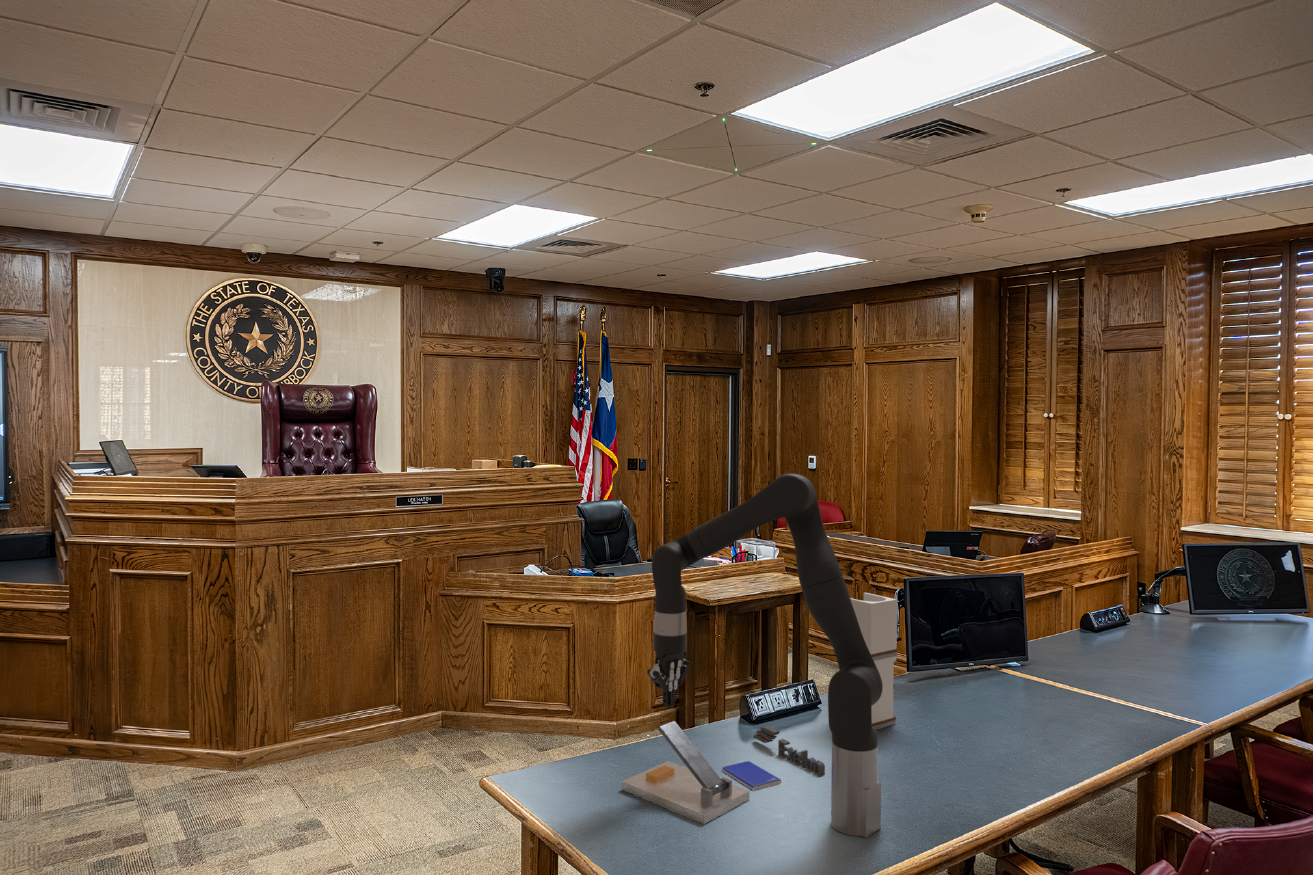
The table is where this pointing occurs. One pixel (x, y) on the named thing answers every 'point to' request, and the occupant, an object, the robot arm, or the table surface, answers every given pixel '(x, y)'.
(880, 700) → the tall open-top box
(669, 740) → the flat pivoting pedal
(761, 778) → the hard drive
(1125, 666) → the table surface
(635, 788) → the mounting plate
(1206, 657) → the table surface
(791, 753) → the extruded letter logo
